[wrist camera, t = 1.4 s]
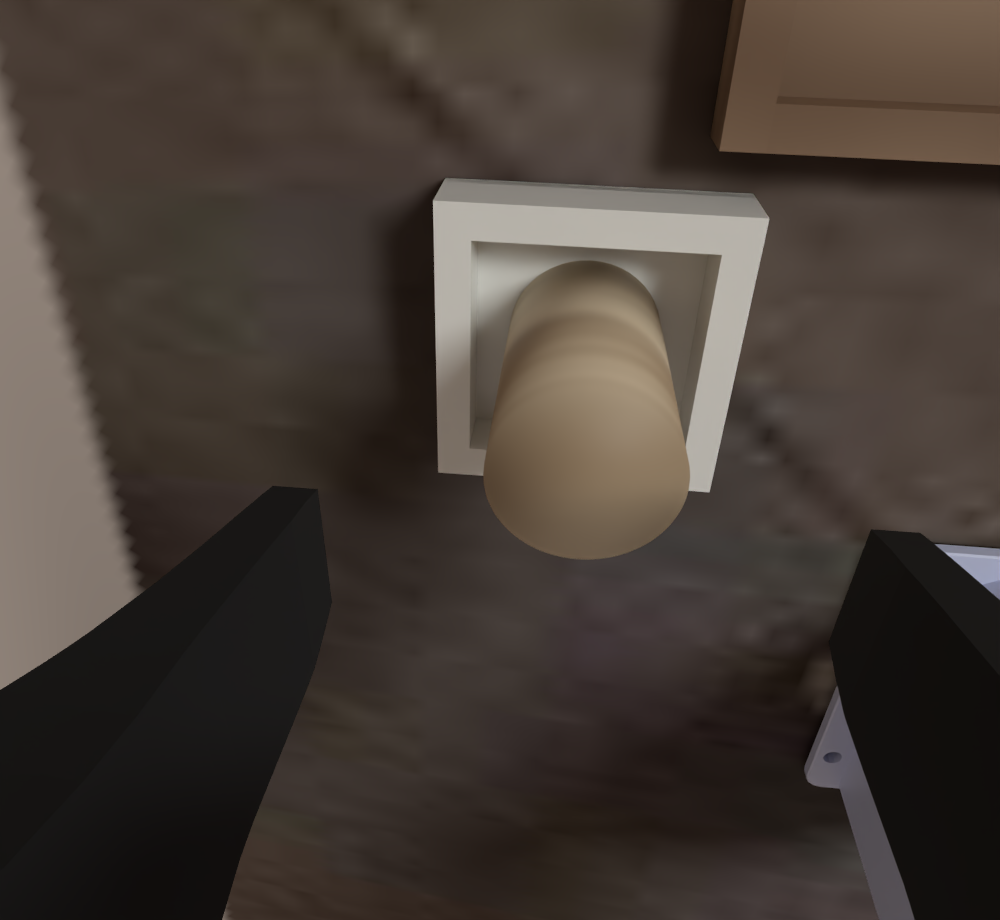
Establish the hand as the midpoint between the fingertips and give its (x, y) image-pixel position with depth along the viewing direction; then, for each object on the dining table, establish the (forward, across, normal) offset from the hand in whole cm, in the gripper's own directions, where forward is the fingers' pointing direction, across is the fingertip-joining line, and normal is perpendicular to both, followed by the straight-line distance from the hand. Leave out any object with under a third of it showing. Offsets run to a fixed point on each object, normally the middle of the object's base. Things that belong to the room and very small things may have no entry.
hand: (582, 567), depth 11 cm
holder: (+8, 0, 0) cm, 8 cm away
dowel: (+8, 0, 0) cm, 8 cm away
